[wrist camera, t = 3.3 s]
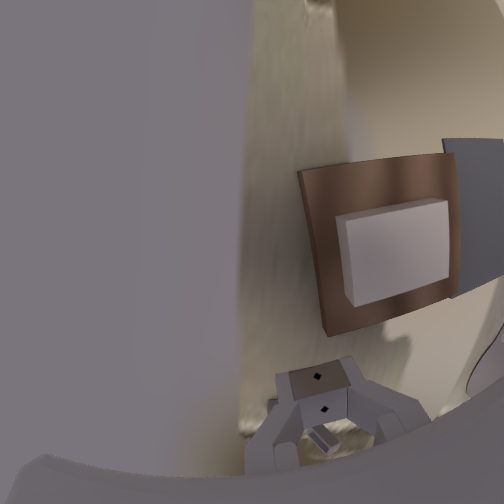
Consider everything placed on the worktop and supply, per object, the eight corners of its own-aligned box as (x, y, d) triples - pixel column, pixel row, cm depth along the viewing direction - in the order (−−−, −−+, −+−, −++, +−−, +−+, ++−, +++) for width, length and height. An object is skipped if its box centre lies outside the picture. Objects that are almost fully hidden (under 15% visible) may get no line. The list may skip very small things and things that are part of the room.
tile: (431, 197, 21) (447, 200, 18) (434, 268, 23) (448, 277, 20) (335, 216, 21) (345, 221, 19) (344, 294, 23) (354, 307, 21)
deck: (442, 153, 21) (453, 152, 20) (448, 286, 25) (458, 293, 23) (297, 171, 22) (301, 171, 20) (322, 326, 26) (327, 337, 24)
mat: (500, 139, 21) (502, 139, 20) (504, 271, 25) (506, 272, 25) (441, 138, 21) (443, 138, 21) (449, 297, 26) (451, 298, 25)
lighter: (266, 408, 29) (271, 460, 21) (268, 399, 29) (273, 453, 21) (323, 406, 29) (338, 455, 22) (326, 397, 29) (342, 446, 21)
